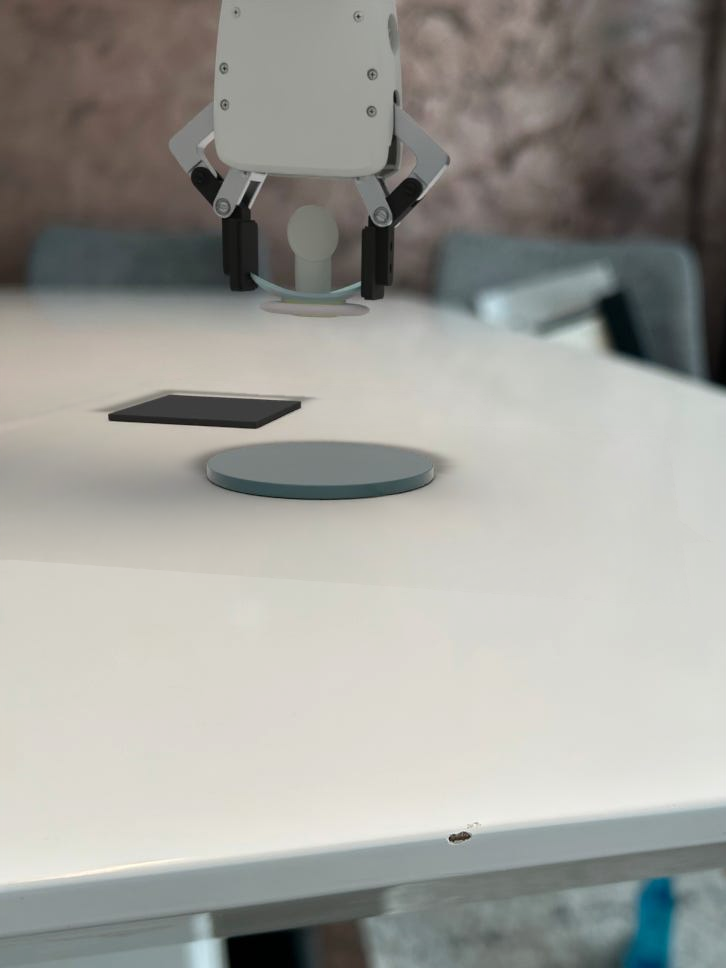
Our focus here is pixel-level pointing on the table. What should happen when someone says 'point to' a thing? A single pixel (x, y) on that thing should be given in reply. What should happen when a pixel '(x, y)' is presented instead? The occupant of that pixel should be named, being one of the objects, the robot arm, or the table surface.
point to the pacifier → (312, 270)
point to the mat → (207, 411)
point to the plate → (320, 470)
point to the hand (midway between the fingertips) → (308, 292)
